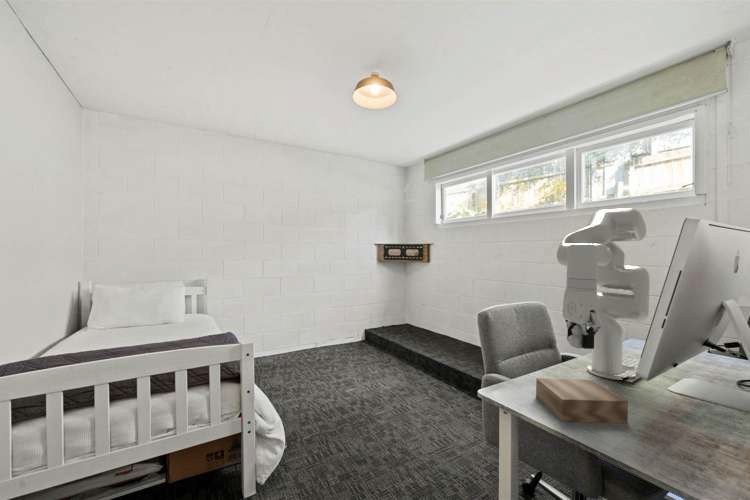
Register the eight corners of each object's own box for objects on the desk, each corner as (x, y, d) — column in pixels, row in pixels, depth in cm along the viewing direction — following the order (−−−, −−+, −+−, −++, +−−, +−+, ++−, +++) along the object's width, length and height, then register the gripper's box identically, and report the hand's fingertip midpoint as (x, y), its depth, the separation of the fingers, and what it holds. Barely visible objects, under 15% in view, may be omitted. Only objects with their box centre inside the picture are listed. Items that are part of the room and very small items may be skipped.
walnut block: (592, 398, 98) (592, 379, 98) (627, 422, 84) (628, 401, 84) (536, 396, 99) (536, 378, 99) (562, 421, 85) (562, 399, 85)
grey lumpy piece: (572, 344, 96) (573, 318, 96) (597, 350, 90) (597, 323, 90) (563, 346, 93) (564, 320, 93) (588, 353, 87) (588, 325, 87)
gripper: (552, 281, 100) (551, 336, 100) (588, 288, 83) (587, 354, 83) (575, 281, 100) (574, 336, 100) (616, 288, 83) (615, 355, 83)
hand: (580, 344), depth 92 cm, fingers closed on grey lumpy piece, 6 cm apart
